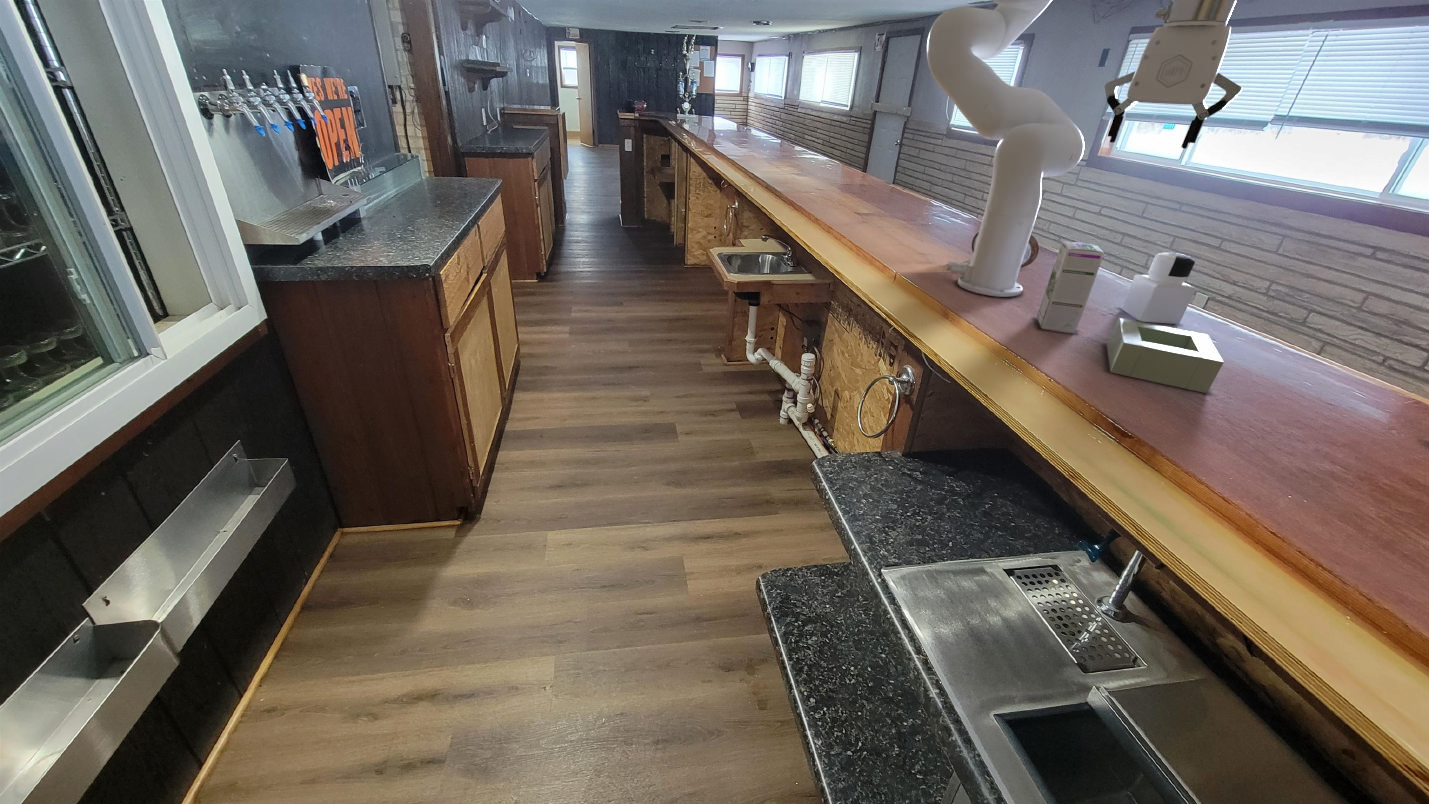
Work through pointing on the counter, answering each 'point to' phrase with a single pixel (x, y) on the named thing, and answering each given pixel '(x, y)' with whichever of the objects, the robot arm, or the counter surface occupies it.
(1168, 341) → the socket block
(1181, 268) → the medicine bottle
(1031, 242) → the tin
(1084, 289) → the syrup box
